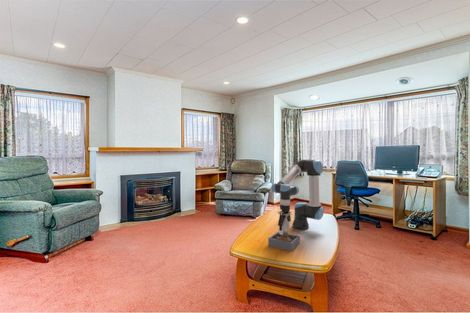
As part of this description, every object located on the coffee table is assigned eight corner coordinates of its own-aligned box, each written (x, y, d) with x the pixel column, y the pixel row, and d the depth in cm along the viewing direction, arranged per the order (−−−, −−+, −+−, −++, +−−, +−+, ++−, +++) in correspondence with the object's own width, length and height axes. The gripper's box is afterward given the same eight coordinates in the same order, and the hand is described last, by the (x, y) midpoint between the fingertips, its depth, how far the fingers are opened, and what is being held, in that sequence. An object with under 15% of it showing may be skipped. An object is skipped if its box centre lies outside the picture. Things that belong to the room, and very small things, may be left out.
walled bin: (277, 238, 207) (277, 231, 207) (299, 243, 197) (299, 236, 197) (268, 245, 192) (268, 238, 192) (291, 251, 182) (291, 243, 182)
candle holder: (279, 246, 188) (280, 214, 188) (274, 240, 199) (275, 210, 198) (293, 245, 190) (294, 213, 190) (288, 240, 201) (288, 210, 200)
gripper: (286, 201, 206) (285, 226, 207) (273, 206, 185) (273, 235, 186) (295, 202, 202) (294, 228, 203) (283, 208, 181) (282, 237, 182)
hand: (284, 231), depth 194 cm, fingers open, 13 cm apart
